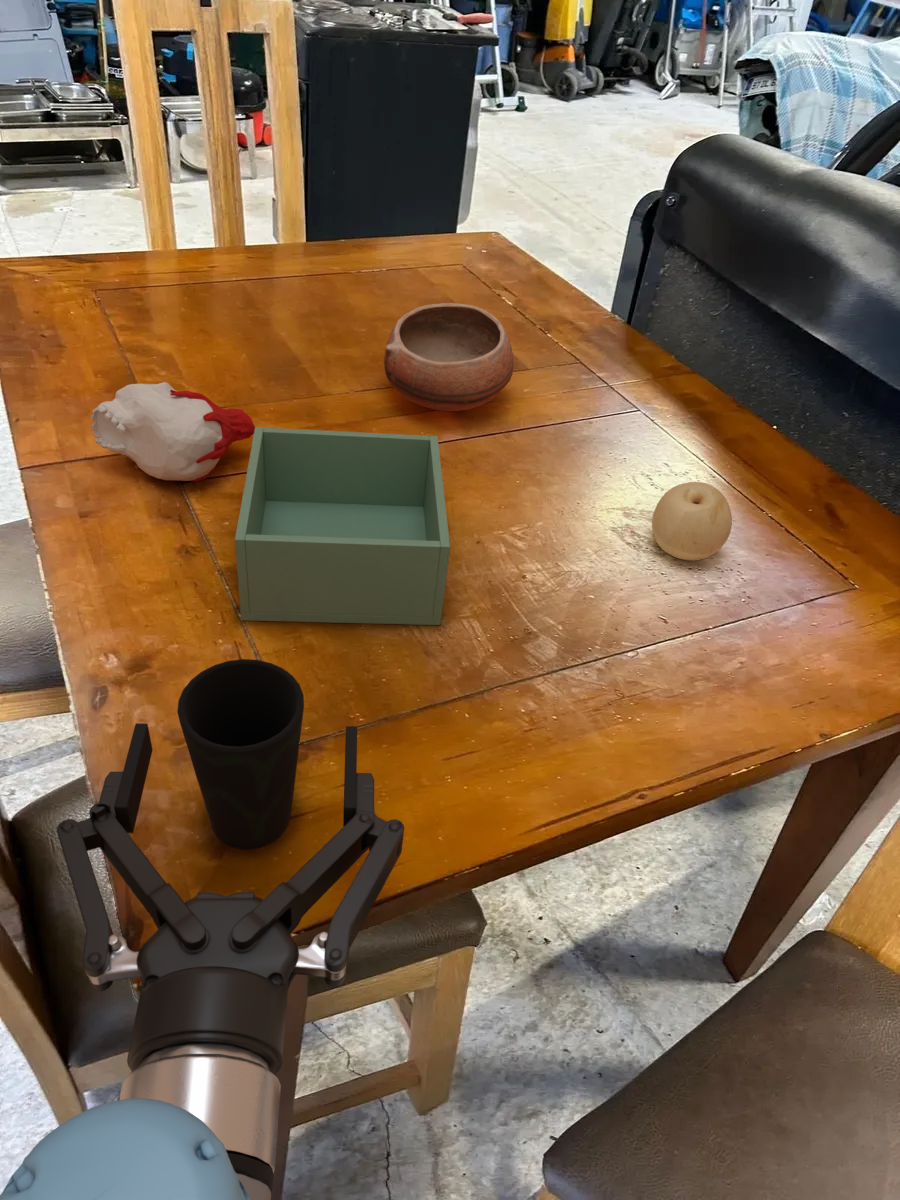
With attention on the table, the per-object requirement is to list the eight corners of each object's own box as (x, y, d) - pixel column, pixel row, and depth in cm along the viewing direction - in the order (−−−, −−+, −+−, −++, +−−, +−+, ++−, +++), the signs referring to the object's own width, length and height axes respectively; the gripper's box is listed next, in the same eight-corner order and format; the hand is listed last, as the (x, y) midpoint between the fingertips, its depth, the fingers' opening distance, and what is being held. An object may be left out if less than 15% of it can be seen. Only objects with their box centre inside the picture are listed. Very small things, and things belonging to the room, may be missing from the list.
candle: (90, 458, 93) (220, 436, 102) (138, 511, 87) (271, 482, 96) (86, 377, 88) (223, 361, 97) (136, 428, 81) (277, 406, 90)
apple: (732, 535, 94) (759, 506, 87) (684, 586, 92) (708, 560, 85) (676, 487, 95) (698, 455, 88) (628, 536, 93) (646, 507, 86)
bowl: (359, 405, 108) (362, 327, 101) (417, 357, 119) (423, 284, 112) (476, 444, 103) (487, 365, 97) (525, 390, 115) (537, 317, 108)
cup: (274, 878, 59) (267, 767, 51) (173, 840, 61) (152, 726, 53) (323, 791, 65) (324, 679, 57) (230, 758, 66) (218, 644, 58)
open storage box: (240, 620, 78) (234, 539, 72) (259, 503, 91) (255, 426, 85) (440, 625, 80) (450, 546, 74) (429, 510, 93) (437, 435, 87)
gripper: (-44, 1112, 44) (65, 771, 60) (448, 1095, 47) (429, 774, 63) (-89, 1050, 40) (43, 696, 55) (464, 1036, 42) (439, 703, 58)
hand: (249, 737), depth 59 cm, fingers open, 13 cm apart
